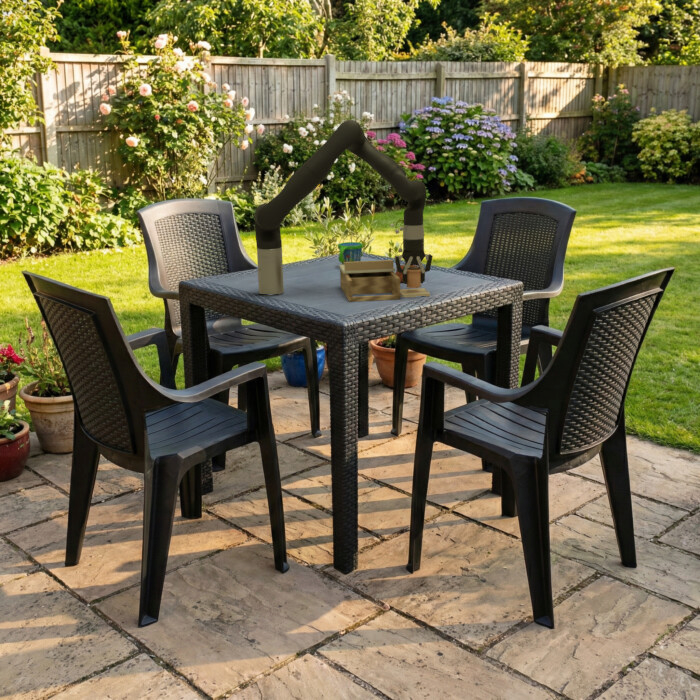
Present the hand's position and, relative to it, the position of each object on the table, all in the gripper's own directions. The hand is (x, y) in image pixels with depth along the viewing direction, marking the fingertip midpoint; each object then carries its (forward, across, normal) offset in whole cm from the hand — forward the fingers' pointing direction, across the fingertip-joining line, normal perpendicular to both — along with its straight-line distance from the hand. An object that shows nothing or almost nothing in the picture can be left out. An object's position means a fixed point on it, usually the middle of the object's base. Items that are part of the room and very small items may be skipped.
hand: (413, 283), depth 320 cm
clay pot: (+1, 0, 0) cm, 1 cm away
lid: (-4, +15, -12) cm, 20 cm away
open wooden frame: (+4, +15, -6) cm, 17 cm away
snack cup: (+4, +16, -61) cm, 63 cm away
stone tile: (+4, 0, 0) cm, 4 cm away
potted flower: (+4, -2, -25) cm, 26 cm away
